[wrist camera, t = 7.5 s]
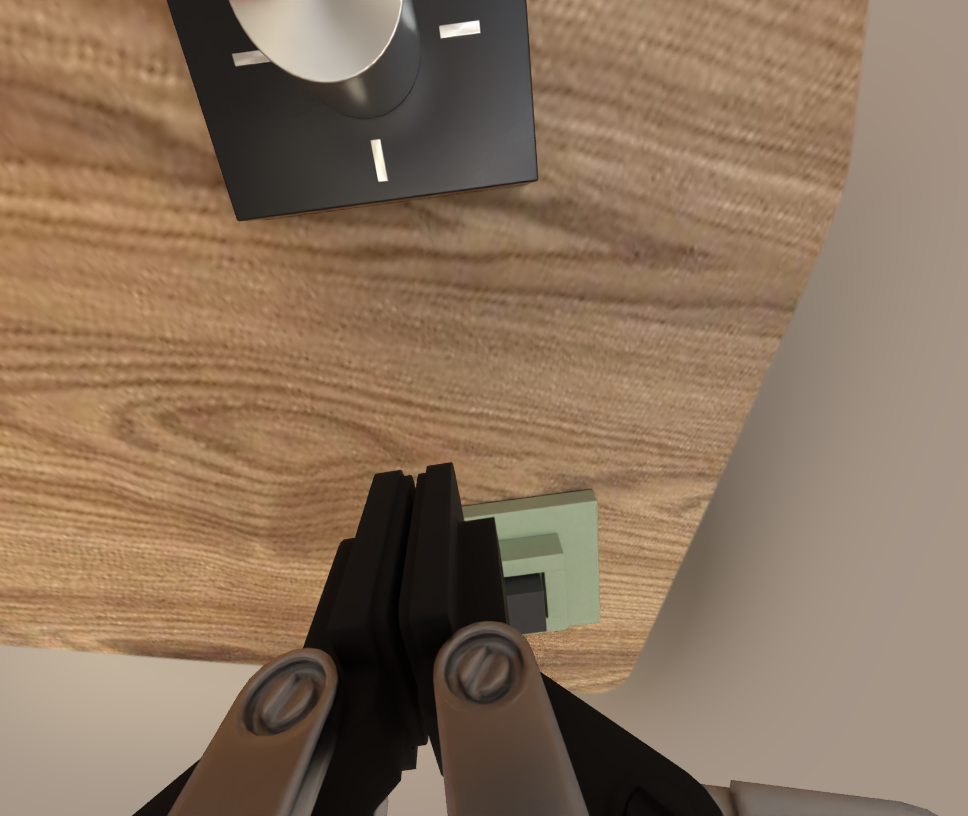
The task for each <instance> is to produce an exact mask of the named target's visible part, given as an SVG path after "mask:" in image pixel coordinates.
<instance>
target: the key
mask: <svg viewBox="0 0 968 816" xmlns="http://www.w3.org/2000/svg"><path fill="white" fill-rule="evenodd" d="M504 581H505V588H506V596H507V604H508V612H509V620H510V626H511V627H513V628H516V629H517V630H518V631H519V632H520V633H521V634H522V635H523V634H530V633H538V632H546V631H547V625H546V614H545V603H544V592H543V587H542V582H541V578H540V573H533V574H526V575H518V576H510V577H504Z"/></svg>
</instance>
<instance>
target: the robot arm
mask: <svg viewBox="0 0 968 816" xmlns="http://www.w3.org/2000/svg"><path fill="white" fill-rule="evenodd" d="M428 735H429V738H430V741H431V744H432V747H433V751H434V754H435V757H436V760H437V763H438V766H439V769H440V772H441V775H442V776H443V777H444V784H445V795H446V803H447V813H448V816H937V815H936V814H934V813H932V812H931V811H929V810H927V809H923V808H920V807H916V806H913V805H910V804H907V803H903V802H898V801H891V800H883V799H875V798H868V797H860V796H852V795H844V794H836V793H829V792H821V791H813V790H805V789H796V788H789V787H781V786H774V785H766V784H758V783H750V782H742V781H734V780H731V782H730V788H727V787H720V786H712V785H705V784H700V783H699V782H698V781H697V780H695V779H694V778H693V777H692V776H691V775H690V774H689V773H687V772H686V771H685V770H683V769H681V768H680V767H679V766H677V765H676V764H674V763H673V762H671V761H670V760H669V759H667V758H665V757H664V756H663V755H661V754H660V753H658V752H657V751H655V750H654V749H652V748H651V747H650V746H648V745H647V744H645V743H643V742H642V741H641V740H639V739H638V738H636V737H635V736H633V735H632V734H631V733H629V732H628V731H626V730H625V729H623V728H622V727H620V726H619V725H617V724H616V723H615V722H613V721H612V720H610V719H609V718H607V717H606V716H604V715H603V714H601V713H600V712H598V711H597V710H595V709H594V708H593V707H591V706H589V705H588V704H587V703H585V702H584V701H582V700H581V699H579V698H578V697H577V696H575V695H574V694H572V693H571V692H569V691H568V690H566V689H565V688H563V687H562V686H560V685H559V684H558V683H556V682H555V681H553V680H552V679H550V678H549V677H547V676H546V675H544V674H543V673H541V672H540V671H539V668H538V665H537V662H536V659H535V656H534V653H533V650H532V648H531V647H530V645H529V643H528V641H527V639H526V638H525V637H524V636H523V635H522V634H521V633H520V632H519V631H518V630H517V629H516V628H513V627H511V626H510V620H509V612H508V604H507V596H506V588H505V581H504V573H503V566H502V559H501V553H500V547H499V540H498V534H497V528H496V523H495V518H494V517H489V518H482V519H476V520H469V521H464V516H463V511H462V506H461V501H460V496H459V491H458V486H457V481H456V476H455V471H454V466H453V463H452V462H450V463H443V464H437V465H430V466H427V468H426V473H421V474H418V477H417V484H416V488H415V484H414V480H413V477H412V475H408V476H404V474H403V472H402V471H401V470H397V471H391V472H384V473H378V474H375V476H374V478H373V481H372V485H371V488H370V491H369V494H368V497H367V501H366V504H365V507H364V510H363V513H362V517H361V520H360V523H359V526H358V530H357V533H356V536H355V538H350V539H344V540H343V541H341V543H340V545H339V547H338V550H337V553H336V555H335V558H334V561H333V564H332V567H331V570H330V573H329V575H328V578H327V581H326V584H325V587H324V590H323V593H322V595H321V598H320V601H319V604H318V607H317V610H316V612H315V615H314V618H313V621H312V624H311V627H310V630H309V632H308V635H307V638H306V641H305V644H304V647H303V648H302V649H296V650H292V651H290V652H287V653H285V654H282V655H280V656H278V657H276V658H275V659H273V660H272V661H270V662H269V663H267V664H265V665H264V666H263V667H262V668H261V669H260V670H259V671H258V672H256V673H255V674H254V675H253V676H252V677H251V678H250V679H249V681H248V682H247V683H246V685H245V686H244V687H243V689H242V690H241V691H240V693H239V694H238V696H237V698H236V700H235V701H234V703H233V705H232V706H231V708H230V710H229V711H228V713H227V715H226V717H225V718H224V720H223V722H222V723H221V725H220V727H219V729H218V730H217V732H216V734H215V736H214V737H213V739H212V740H211V742H210V744H209V746H208V747H207V749H206V751H205V752H204V754H203V756H202V757H201V759H200V760H198V761H197V762H196V763H194V764H193V765H192V766H191V767H190V768H188V769H187V770H186V771H185V772H184V773H183V774H181V775H180V776H179V777H178V778H177V779H175V780H174V781H173V782H172V783H171V784H169V785H168V786H167V787H166V788H165V789H163V790H162V791H161V792H160V793H159V794H157V795H156V796H155V797H154V798H153V799H151V800H150V801H149V802H148V803H147V804H145V805H144V806H143V807H142V808H141V809H140V810H138V811H137V812H136V813H135V814H134V815H132V816H387V810H388V795H389V794H390V792H391V791H392V790H393V789H394V788H395V787H396V786H397V784H398V783H399V782H400V781H401V774H402V771H404V770H412V769H416V762H417V749H418V746H421V745H426V744H427V742H428Z"/></svg>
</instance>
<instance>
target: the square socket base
mask: <svg viewBox="0 0 968 816" xmlns="http://www.w3.org/2000/svg"><path fill="white" fill-rule="evenodd" d="M462 511H463V516H464V521H469V520H476V519H482V518H489V517H494V518H495V523H496V528H497V534H498V540H499V547H500V553H501V559H502V566H503V573H504V577H510V576H518V575H526V574H533V573H540V578H541V582H542V587H543V592H544V603H545V614H546V625H547V631H546V632H551V631H559V630H567V629H568V627H569V626H576V625H584V624H592V623H599V622H600V596H599V555H598V514H597V499H596V497H595V495H594V493H593V491H592V490H584V491H576V492H568V493H561V494H553V495H546V496H538V497H531V498H523V499H515V500H508V501H500V502H493V503H485V504H477V505H470V506H462ZM538 633H544V632H538ZM530 634H536V633H530ZM523 635H528V634H523Z"/></svg>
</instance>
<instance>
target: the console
mask: <svg viewBox="0 0 968 816" xmlns="http://www.w3.org/2000/svg"><path fill="white" fill-rule="evenodd" d="M412 2H413V7H414V11H415V15H416V20H417V24H418V29H419V34H420V43H421V56H420V64H419V69H418V73H417V76H416V79H415V82H414V84H413V86H412V88H411V90H410V92H409V93H408V95H407V96H406V97H405V99H404V100H403V101H402V102H401V103H400V104H399V105H398V106H397V107H395V108H394V109H393V110H391V111H389V112H388V113H386V114H383V115H381V116H378V117H373V118H355V117H351V116H347V115H344V114H342V113H339V112H337V111H336V110H334V109H332V108H331V107H329V106H328V105H327V104H325V103H324V102H323V101H321V100H320V99H319V98H317V97H316V96H315V95H314V94H312V93H311V92H310V91H308V90H307V89H306V88H305V87H303V86H302V85H301V84H299V83H298V82H297V81H295V80H294V79H293V78H292V77H290V76H289V75H288V74H286V73H285V72H284V71H283V70H281V69H280V68H279V67H277V66H276V65H275V64H274V63H272V62H271V61H270V60H269V59H268V58H267V57H266V56H264V55H263V54H262V53H261V52H260V51H259V49H258V48H257V47H256V46H255V45H254V44H253V43H252V41H251V40H250V39H249V37H248V36H247V34H246V33H245V31H244V30H243V28H242V27H241V25H240V23H239V21H238V20H237V18H236V16H235V14H234V11H233V9H232V7H231V5H230V2H229V0H167V3H168V6H169V9H170V12H171V15H172V19H173V22H174V25H175V28H176V31H177V34H178V37H179V40H180V44H181V47H182V50H183V53H184V56H185V59H186V62H187V65H188V69H189V72H190V75H191V78H192V81H193V84H194V87H195V90H196V93H197V97H198V100H199V103H200V106H201V109H202V112H203V115H204V118H205V122H206V125H207V128H208V131H209V134H210V137H211V140H212V143H213V146H214V150H215V153H216V156H217V159H218V162H219V165H220V168H221V171H222V175H223V178H224V181H225V184H226V187H227V190H228V193H229V196H230V200H231V203H232V206H233V209H234V212H235V215H236V218H237V220H238V221H253V220H268V219H275V218H283V217H290V216H297V215H305V214H312V213H320V212H327V211H335V210H342V209H349V208H357V207H364V206H372V205H379V204H386V203H394V202H401V201H409V200H416V199H423V198H431V197H438V196H446V195H453V194H461V193H468V192H475V191H483V190H490V189H498V188H505V187H512V186H520V185H527V184H530V183H533V182H536V181H538V169H537V154H536V139H535V124H534V109H533V93H532V78H531V63H530V48H529V33H528V18H527V2H526V0H412Z"/></svg>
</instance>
